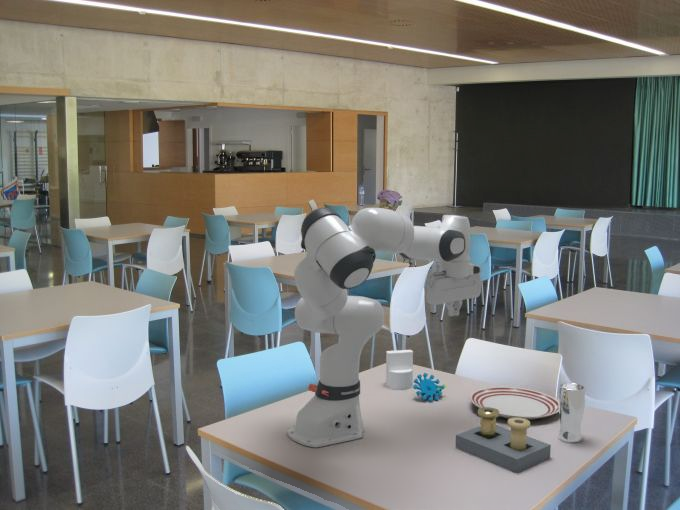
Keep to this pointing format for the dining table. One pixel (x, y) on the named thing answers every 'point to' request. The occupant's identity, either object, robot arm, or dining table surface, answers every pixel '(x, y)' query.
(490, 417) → the bushing
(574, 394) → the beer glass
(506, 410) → the dinner plate
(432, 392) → the gear
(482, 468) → the dining table surface
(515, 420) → the jig
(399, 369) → the white toy chair
